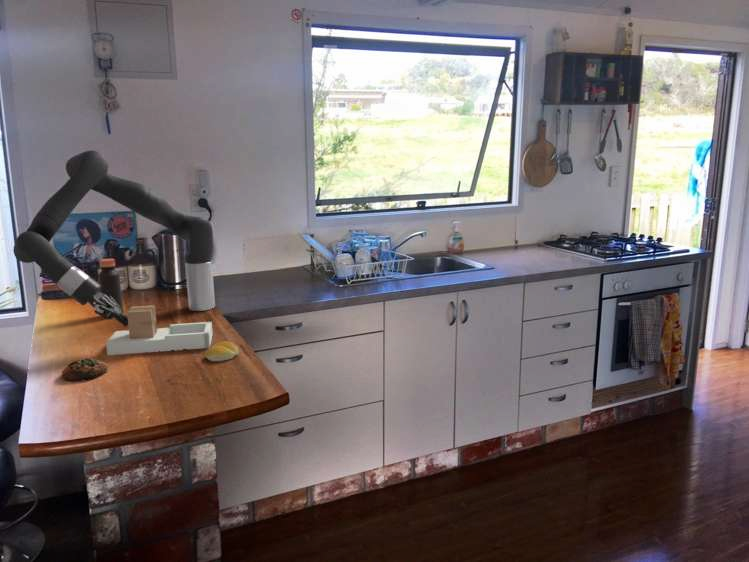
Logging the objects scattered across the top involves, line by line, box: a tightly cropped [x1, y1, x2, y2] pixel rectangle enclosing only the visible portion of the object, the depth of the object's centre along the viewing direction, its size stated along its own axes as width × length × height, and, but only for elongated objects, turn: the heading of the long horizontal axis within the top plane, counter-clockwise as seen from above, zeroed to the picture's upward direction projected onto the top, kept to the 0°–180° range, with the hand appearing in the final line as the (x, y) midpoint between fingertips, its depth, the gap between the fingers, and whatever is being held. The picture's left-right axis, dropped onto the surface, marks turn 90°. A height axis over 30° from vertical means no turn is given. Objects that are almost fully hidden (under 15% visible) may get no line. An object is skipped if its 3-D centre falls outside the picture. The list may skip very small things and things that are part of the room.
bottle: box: [97, 258, 125, 315], centre depth 214 cm, size 7×7×20 cm
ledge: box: [105, 327, 171, 356], centre depth 182 cm, size 12×16×4 cm
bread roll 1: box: [61, 358, 109, 382], centre depth 161 cm, size 11×11×5 cm
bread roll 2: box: [204, 341, 239, 362], centre depth 172 cm, size 8×9×4 cm
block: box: [126, 304, 158, 339], centre depth 181 cm, size 6×6×8 cm
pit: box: [165, 321, 214, 352], centre depth 184 cm, size 12×12×4 cm
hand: (128, 323), depth 180 cm, fingers closed
